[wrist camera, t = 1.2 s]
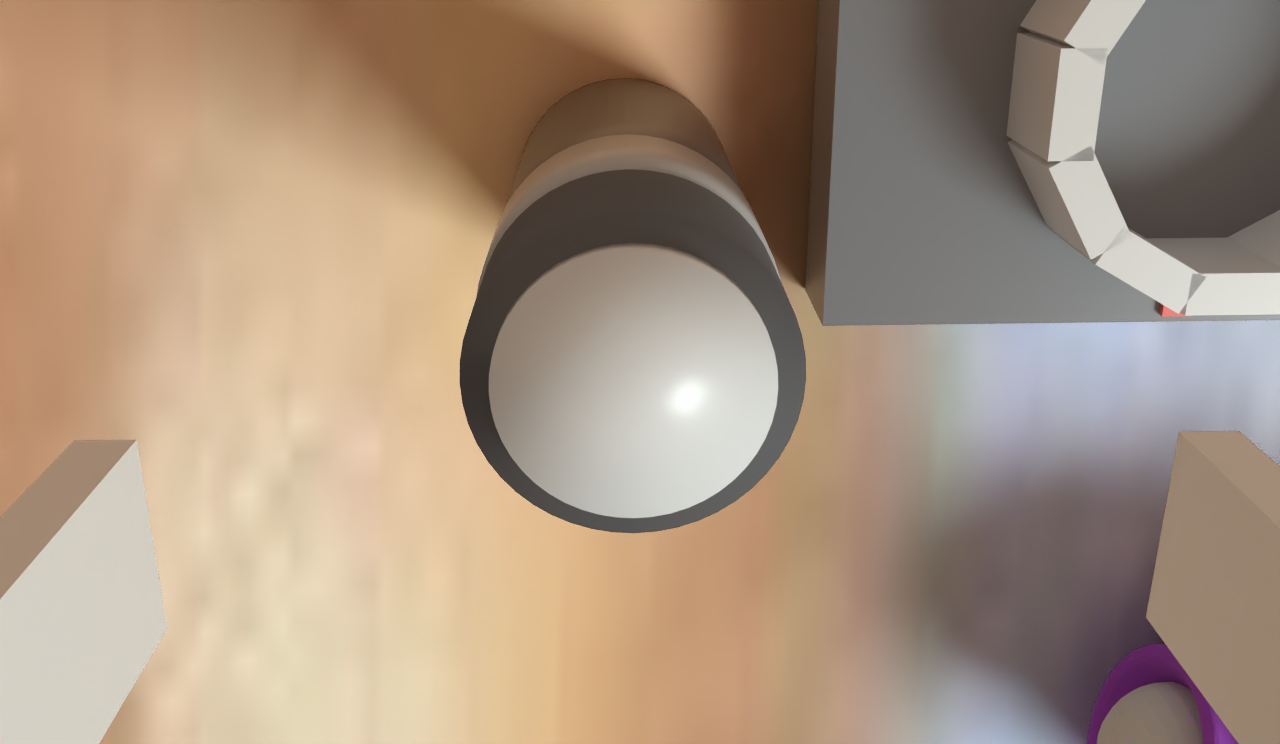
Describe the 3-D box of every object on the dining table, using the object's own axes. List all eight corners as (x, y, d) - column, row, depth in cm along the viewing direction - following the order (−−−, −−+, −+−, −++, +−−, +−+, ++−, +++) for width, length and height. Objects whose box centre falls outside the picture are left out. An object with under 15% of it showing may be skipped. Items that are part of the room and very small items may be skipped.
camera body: (805, 289, 34) (843, 368, 28) (827, -185, 30) (878, -202, 24) (1445, 282, 34) (1607, 358, 29) (1561, -188, 30) (1779, -205, 24)
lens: (521, 287, 34) (463, 549, 20) (512, 77, 32) (442, 216, 18) (728, 284, 34) (804, 544, 21) (732, 75, 32) (821, 212, 18)
